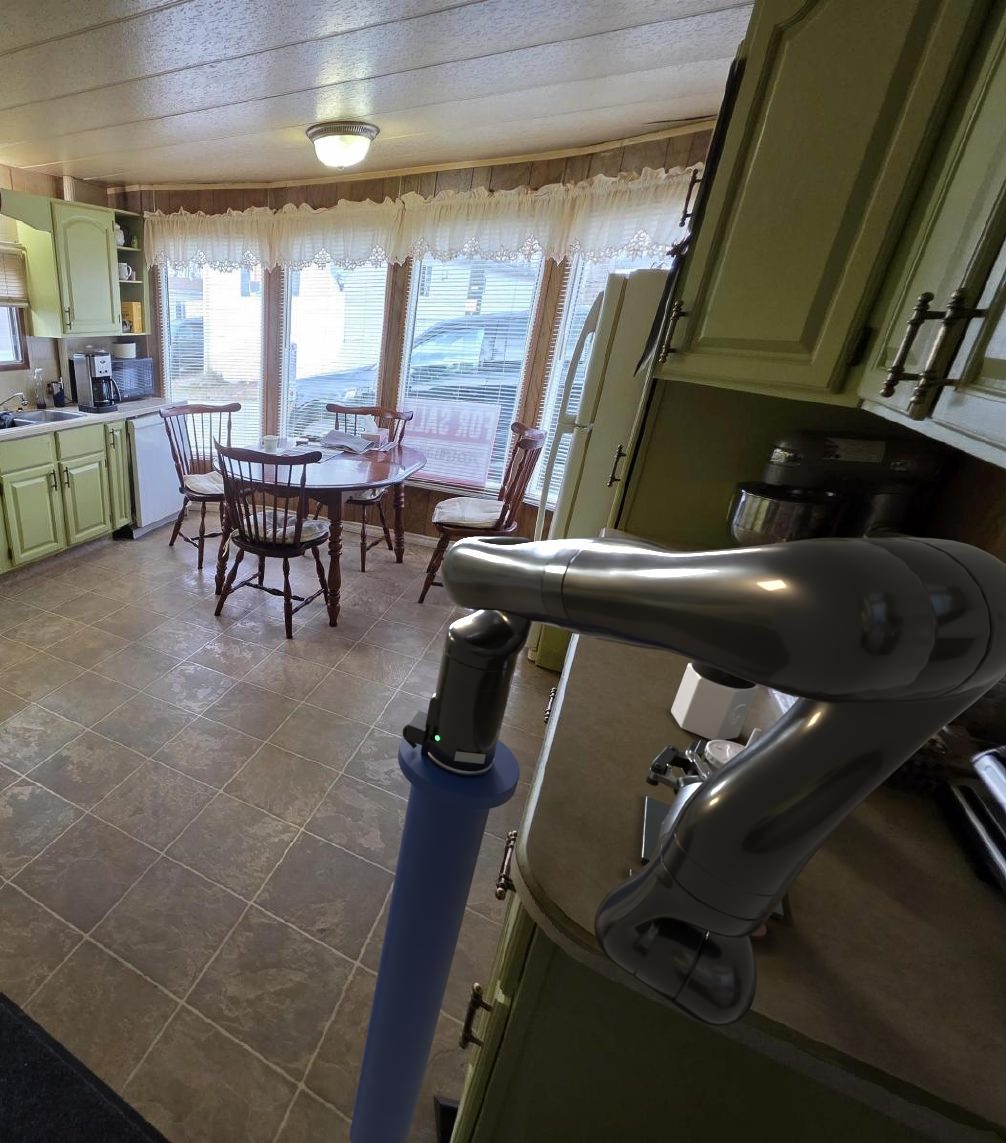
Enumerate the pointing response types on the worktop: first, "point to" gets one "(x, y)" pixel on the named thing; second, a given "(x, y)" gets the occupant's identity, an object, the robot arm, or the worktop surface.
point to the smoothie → (724, 750)
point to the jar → (713, 702)
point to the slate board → (651, 829)
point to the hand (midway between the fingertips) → (736, 761)
